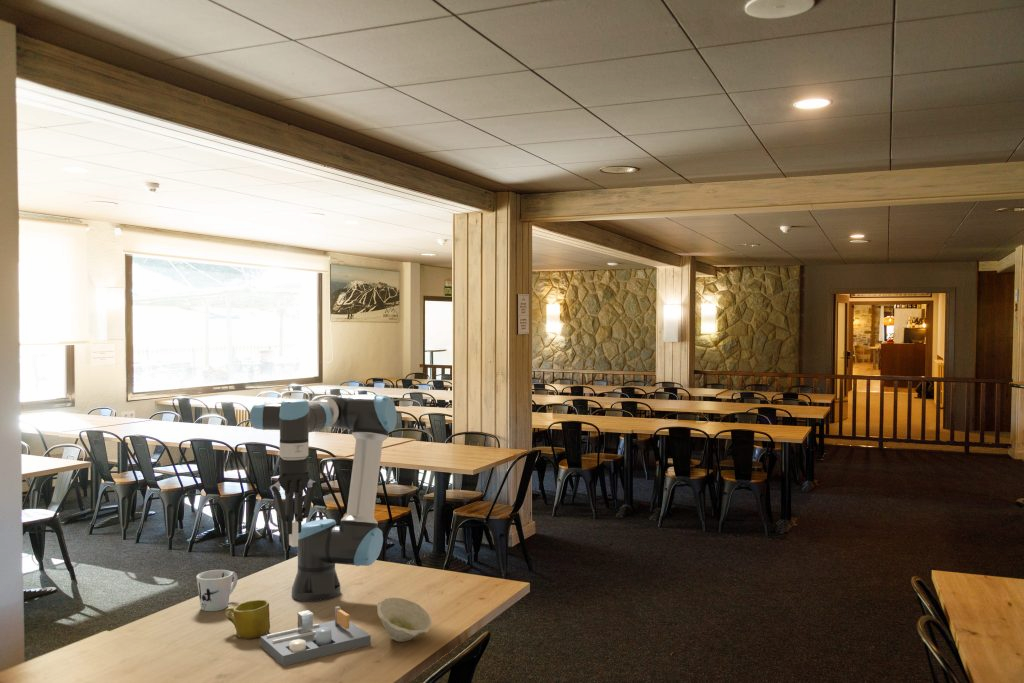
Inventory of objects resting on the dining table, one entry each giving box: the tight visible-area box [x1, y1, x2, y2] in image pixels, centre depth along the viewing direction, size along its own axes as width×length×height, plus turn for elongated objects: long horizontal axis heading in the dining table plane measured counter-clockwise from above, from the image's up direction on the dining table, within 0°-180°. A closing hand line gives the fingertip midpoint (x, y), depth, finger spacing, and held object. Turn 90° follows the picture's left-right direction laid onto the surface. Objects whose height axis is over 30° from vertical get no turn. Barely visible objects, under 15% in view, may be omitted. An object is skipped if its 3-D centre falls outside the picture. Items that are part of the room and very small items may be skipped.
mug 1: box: [196, 569, 239, 612], centre depth 241 cm, size 10×15×10 cm
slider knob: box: [297, 610, 314, 634], centre depth 212 cm, size 3×3×5 cm
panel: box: [260, 619, 372, 667], centre depth 210 cm, size 16×24×3 cm, turn 127°
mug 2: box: [224, 599, 271, 640], centre depth 218 cm, size 12×10×10 cm
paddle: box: [334, 606, 350, 629], centre depth 215 cm, size 7×1×5 cm, turn 37°
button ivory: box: [290, 639, 306, 653], centre depth 201 cm, size 4×4×3 cm
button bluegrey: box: [316, 627, 332, 646], centre depth 206 cm, size 4×4×3 cm
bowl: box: [376, 597, 432, 643], centre depth 214 cm, size 15×14×10 cm
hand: (293, 545), depth 212 cm, fingers closed
